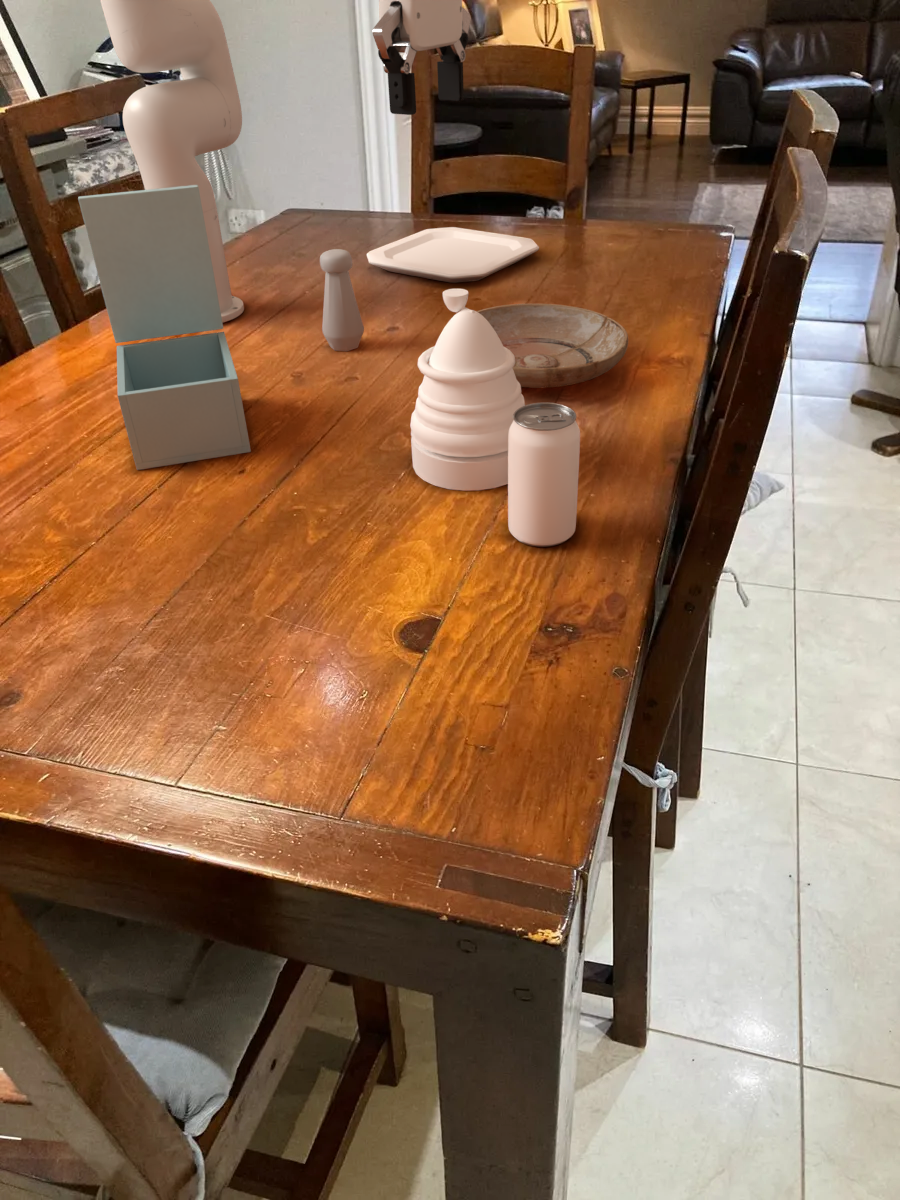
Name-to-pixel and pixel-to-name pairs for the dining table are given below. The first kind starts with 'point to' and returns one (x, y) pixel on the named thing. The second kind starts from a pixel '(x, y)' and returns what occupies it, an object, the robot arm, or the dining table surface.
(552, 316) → the ceramic bowl
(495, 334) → the honey pot
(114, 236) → the lid
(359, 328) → the salt shaker
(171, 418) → the chest
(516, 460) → the can
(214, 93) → the robot arm
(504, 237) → the plate
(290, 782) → the dining table surface
